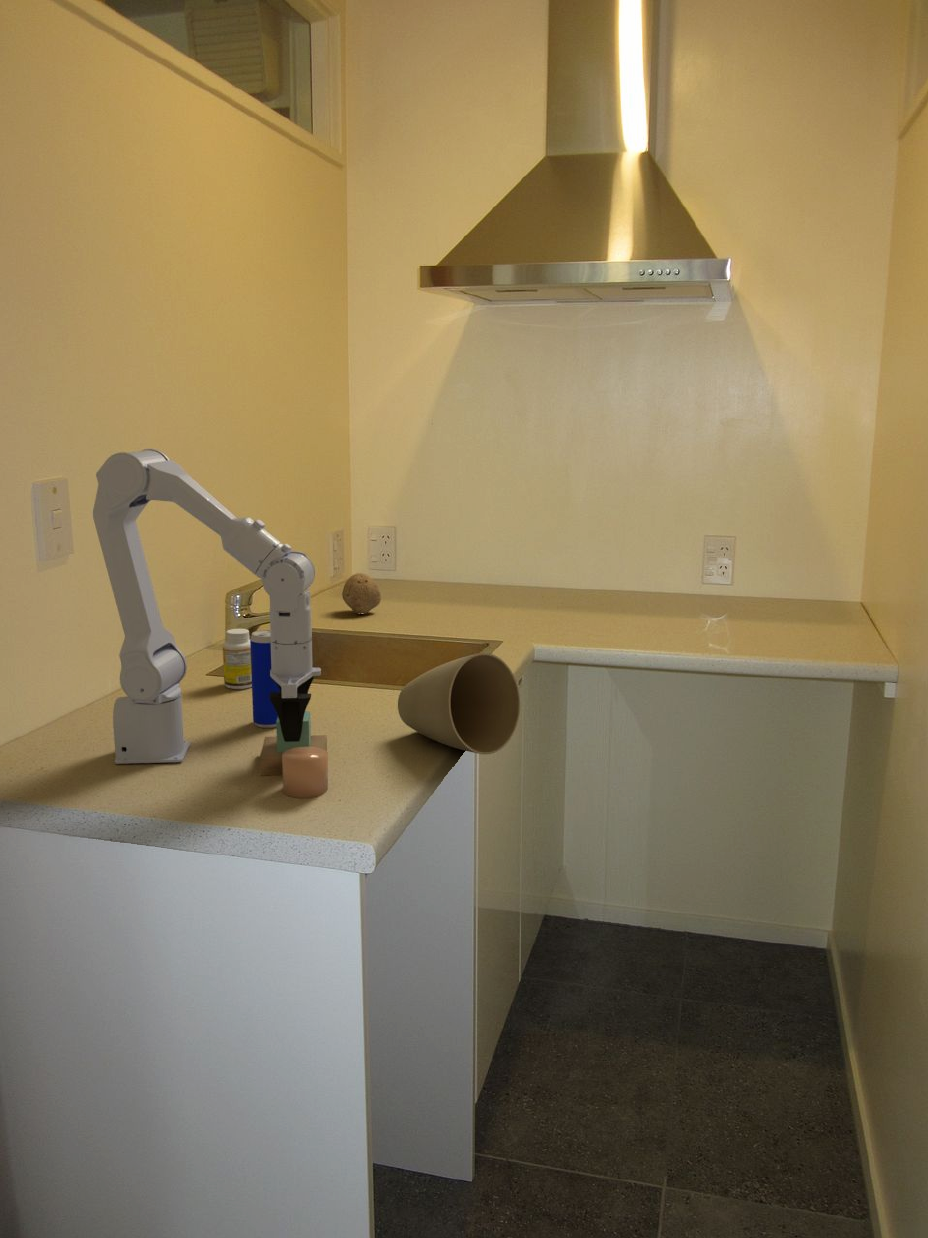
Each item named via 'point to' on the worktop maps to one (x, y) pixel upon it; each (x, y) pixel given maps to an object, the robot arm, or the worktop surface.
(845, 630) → the worktop surface
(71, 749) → the worktop surface
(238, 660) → the supplement bottle
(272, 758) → the base
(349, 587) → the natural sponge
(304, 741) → the cube
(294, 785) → the rounded knob
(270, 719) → the beverage can
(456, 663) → the plant pot
